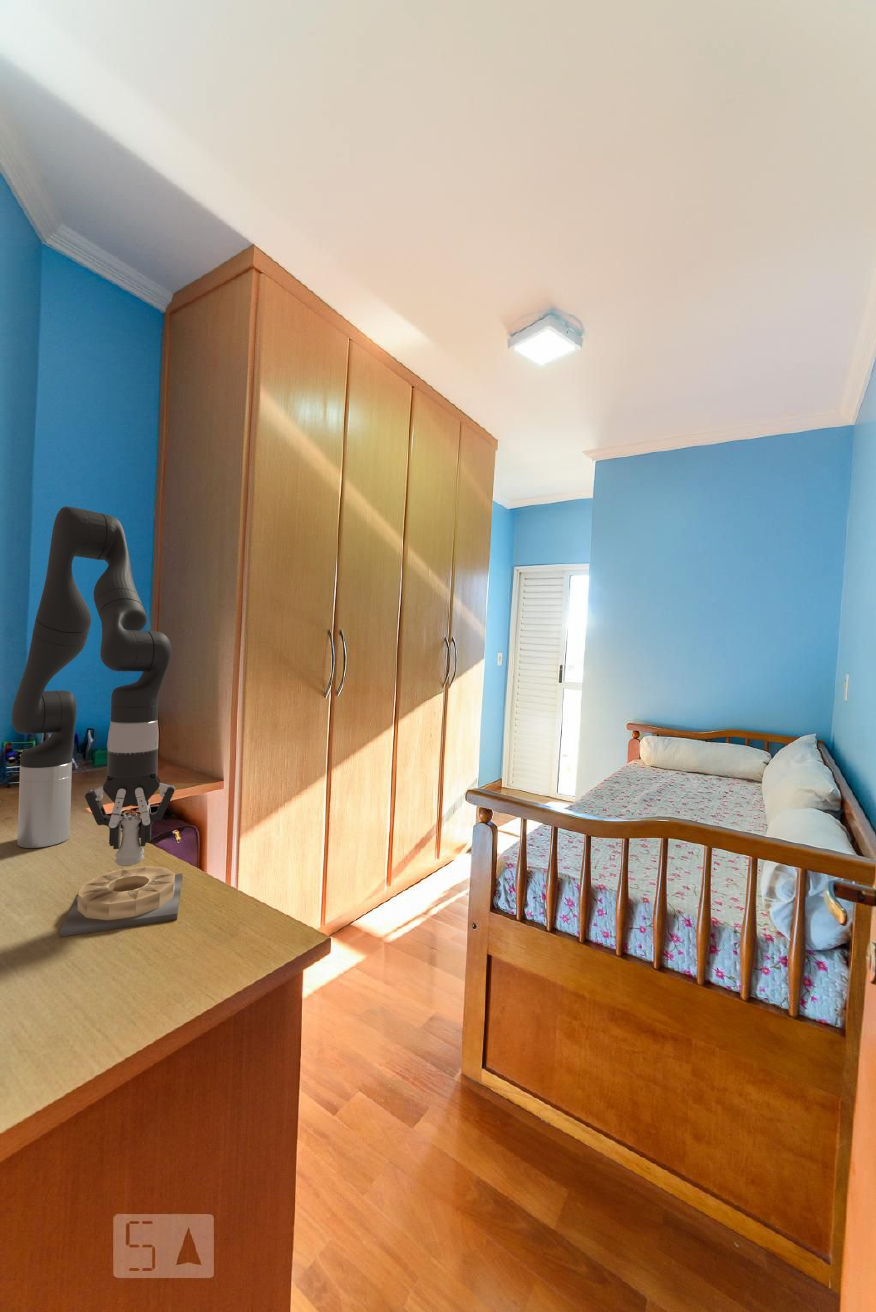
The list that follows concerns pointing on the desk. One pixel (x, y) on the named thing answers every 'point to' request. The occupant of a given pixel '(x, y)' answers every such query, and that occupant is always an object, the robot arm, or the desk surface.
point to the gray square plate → (125, 900)
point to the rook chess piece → (130, 842)
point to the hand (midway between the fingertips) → (130, 845)
